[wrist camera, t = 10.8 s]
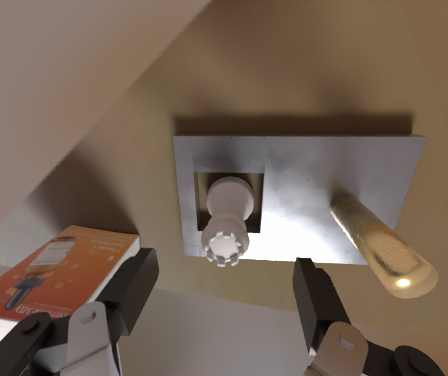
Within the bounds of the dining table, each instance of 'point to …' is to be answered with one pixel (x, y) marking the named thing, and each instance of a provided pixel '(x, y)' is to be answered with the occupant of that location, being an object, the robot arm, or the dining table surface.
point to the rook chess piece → (227, 220)
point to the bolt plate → (315, 198)
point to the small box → (63, 274)
